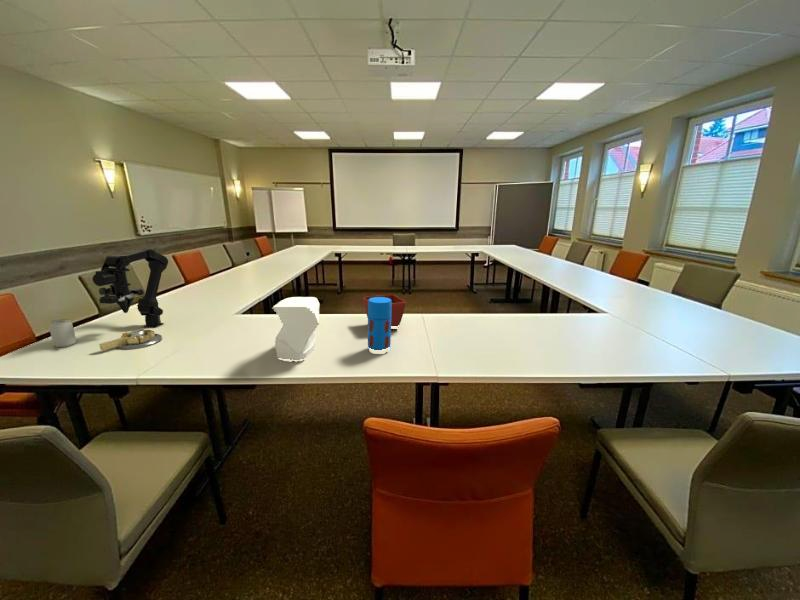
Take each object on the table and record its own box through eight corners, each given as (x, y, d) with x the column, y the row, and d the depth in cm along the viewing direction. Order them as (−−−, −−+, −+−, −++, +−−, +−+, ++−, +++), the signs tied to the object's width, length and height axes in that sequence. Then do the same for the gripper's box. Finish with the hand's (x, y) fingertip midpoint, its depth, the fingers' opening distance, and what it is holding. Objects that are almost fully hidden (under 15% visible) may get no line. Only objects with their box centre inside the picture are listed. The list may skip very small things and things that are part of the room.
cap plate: (137, 334, 168) (135, 324, 166) (171, 336, 166) (169, 326, 165) (104, 348, 150) (101, 337, 149) (141, 350, 149) (139, 339, 148)
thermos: (378, 356, 151) (379, 304, 144) (363, 350, 158) (363, 299, 151) (394, 350, 159) (396, 300, 152) (379, 343, 166) (380, 295, 159)
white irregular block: (266, 364, 140) (261, 306, 133) (293, 340, 166) (290, 291, 159) (314, 368, 138) (312, 309, 131) (334, 344, 164) (333, 293, 157)
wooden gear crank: (145, 333, 166) (144, 326, 165) (159, 337, 161) (158, 330, 160) (94, 347, 148) (92, 339, 147) (108, 352, 143) (107, 345, 142)
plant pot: (362, 323, 194) (362, 296, 190) (392, 320, 201) (393, 294, 197) (372, 335, 177) (373, 305, 173) (405, 331, 184) (406, 302, 180)
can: (62, 349, 148) (56, 323, 145) (49, 347, 150) (43, 322, 147) (81, 342, 156) (75, 318, 152) (68, 341, 157) (62, 317, 154)
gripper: (121, 277, 168) (127, 306, 172) (84, 285, 150) (92, 317, 154) (142, 278, 167) (147, 307, 172) (107, 286, 149) (114, 319, 154)
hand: (125, 312), depth 163 cm, fingers closed
